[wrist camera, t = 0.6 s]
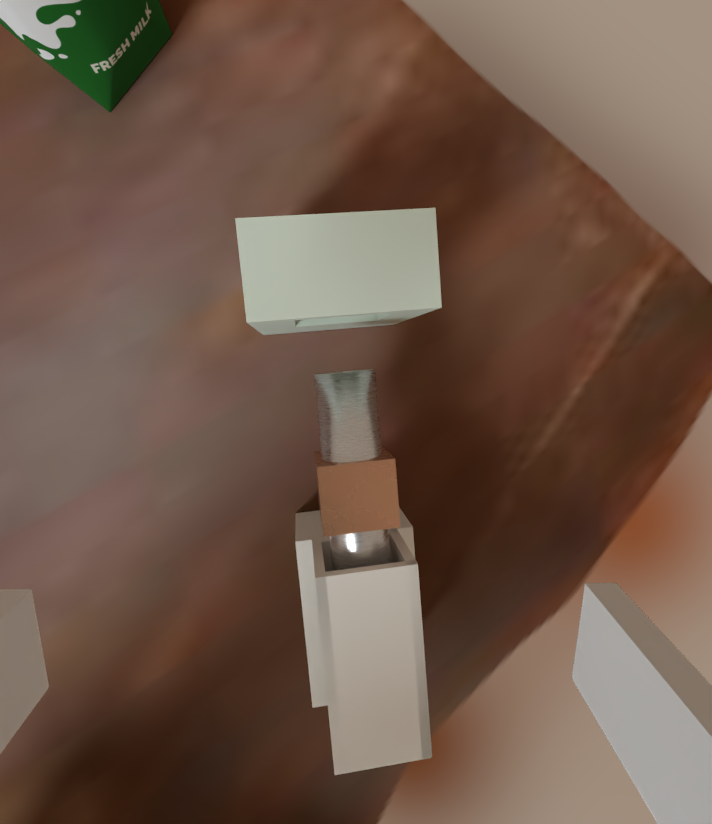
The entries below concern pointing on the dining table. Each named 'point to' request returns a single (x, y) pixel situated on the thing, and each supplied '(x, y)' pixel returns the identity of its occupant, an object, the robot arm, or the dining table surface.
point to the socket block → (338, 269)
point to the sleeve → (365, 649)
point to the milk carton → (91, 40)
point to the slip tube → (354, 471)
